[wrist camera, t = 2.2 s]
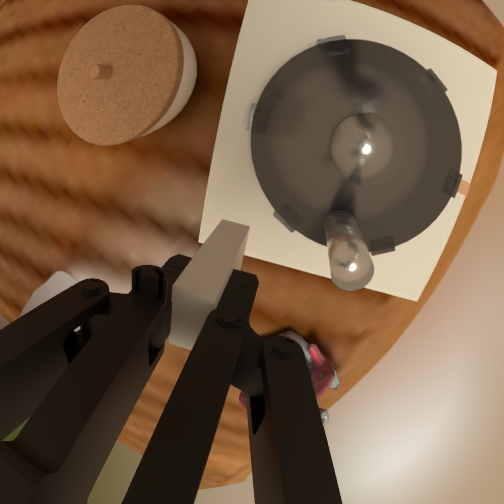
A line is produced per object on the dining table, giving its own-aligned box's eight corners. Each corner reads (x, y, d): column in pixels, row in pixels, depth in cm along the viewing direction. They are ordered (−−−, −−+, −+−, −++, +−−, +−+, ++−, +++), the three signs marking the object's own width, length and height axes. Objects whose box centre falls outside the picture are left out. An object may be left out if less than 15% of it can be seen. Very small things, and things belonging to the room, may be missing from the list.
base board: (256, -13, 18) (253, -20, 16) (488, 71, 16) (498, 70, 15) (203, 235, 29) (197, 243, 27) (412, 293, 27) (417, 302, 26)
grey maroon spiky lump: (307, 311, 28) (337, 434, 21) (337, 328, 36) (360, 418, 30) (211, 344, 32) (229, 450, 25) (260, 354, 40) (276, 436, 34)
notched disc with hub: (276, 23, 18) (258, -27, 9) (469, 94, 17) (539, 96, 8) (234, 210, 25) (197, 262, 17) (413, 261, 24) (450, 328, 16)
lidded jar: (95, 73, 23) (27, 71, 14) (180, 5, 19) (126, -30, 11) (141, 156, 26) (77, 179, 18) (236, 94, 22) (199, 84, 14)
